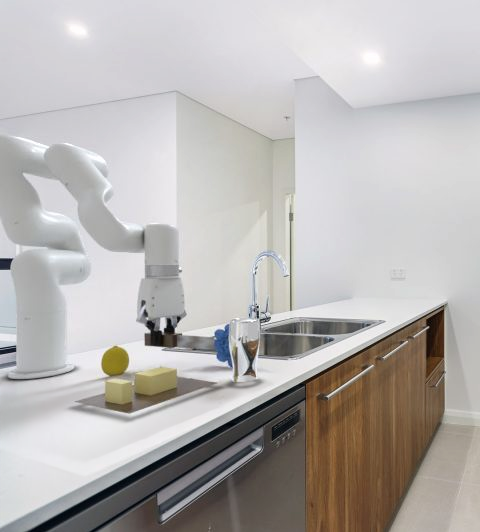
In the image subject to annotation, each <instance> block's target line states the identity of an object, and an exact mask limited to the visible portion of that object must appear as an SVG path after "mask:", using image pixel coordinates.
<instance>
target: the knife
mask: <svg viewBox="0 0 480 532" xmlns="http://www.w3.org/2000/svg"><path fill="white" fill-rule="evenodd" d="M143 337H144V347H152V346H151V342H150V331H149V332H145V333H144V335H143ZM214 340H215V336H206V335H205V336H203V335H189V334H183V332H181V333H180V332H175V333H170V332H164V331H162V346H160V347H159V348H167V349H168V348H169V349H174V348H182V349H183V348H185V349H196V350H197V349H198V350H210V351H214ZM153 347H155V348H157V347H156V346H153Z"/></svg>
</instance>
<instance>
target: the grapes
mask: <svg viewBox="0 0 480 532" xmlns="http://www.w3.org/2000/svg"><path fill="white" fill-rule="evenodd" d="M229 326H230V323H226V324H225V326H224V329H223V328H222V329H221V328H218V329H216V330H215V331H214V332H213V333H214V350H213V351H215V352H217V353H216V354H215V355H216V359H217V360H218V361H219V362H221V363H225V362H227V365H228V366H229V367H230V368H232V369H233V366H232V360H231V354H230V349H229Z"/></svg>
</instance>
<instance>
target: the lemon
mask: <svg viewBox="0 0 480 532" xmlns="http://www.w3.org/2000/svg"><path fill="white" fill-rule="evenodd" d="M129 365H130V357H129V353H128V351H127V350H126V349H125V348H123V347H121V346H118V345H113V346H112V347H110V348H109V349H107V350H105V352H104V353H103V355H102V357H101V361H100V367H101V370H102V372H103V373H104V374H105V375H107V376H108V377H112V376H118V375H119V376H120V375H123V374H124V373H125V372H126V371H127V370H128V368H129Z"/></svg>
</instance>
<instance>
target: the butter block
mask: <svg viewBox="0 0 480 532" xmlns="http://www.w3.org/2000/svg"><path fill="white" fill-rule="evenodd" d="M133 375H134V376H133V377H134V378H133V379H134V380H133V385H134V393H139V394H145V395H150V396H151V395H154V394H157V393H161V392H164V391H167V390H170V389H173V388H176V387H177V377H178V369H177V368H171V367H164V366H157V367H155V368H151V369H147V370H143V371H139V372H135V373H134V374H133Z"/></svg>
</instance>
